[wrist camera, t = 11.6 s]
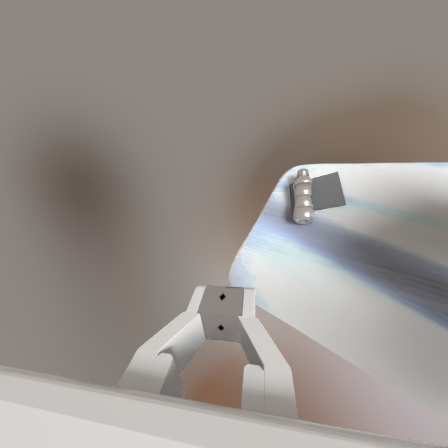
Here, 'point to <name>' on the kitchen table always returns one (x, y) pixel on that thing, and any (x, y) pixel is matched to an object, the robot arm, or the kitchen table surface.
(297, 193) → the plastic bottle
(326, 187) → the mat
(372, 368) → the kitchen table surface
